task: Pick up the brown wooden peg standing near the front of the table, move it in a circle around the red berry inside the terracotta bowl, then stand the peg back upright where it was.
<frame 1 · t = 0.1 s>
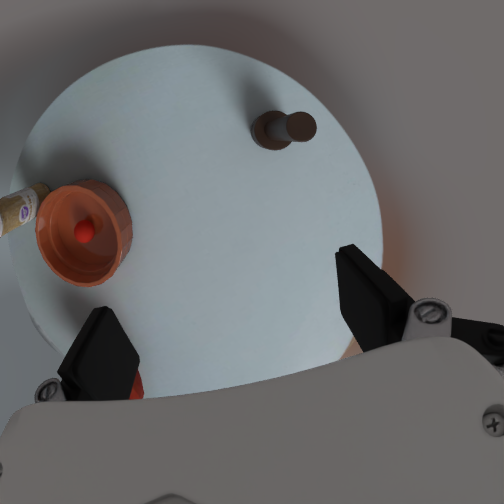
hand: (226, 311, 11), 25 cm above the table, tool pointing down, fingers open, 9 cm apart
berry: (84, 231, 32), point 2 cm above the table, touching bowl
sprinkles bottle: (42, 197, 31), on the table
bowl: (90, 226, 34), on the table
brown wooden peg: (269, 131, 31), on the table
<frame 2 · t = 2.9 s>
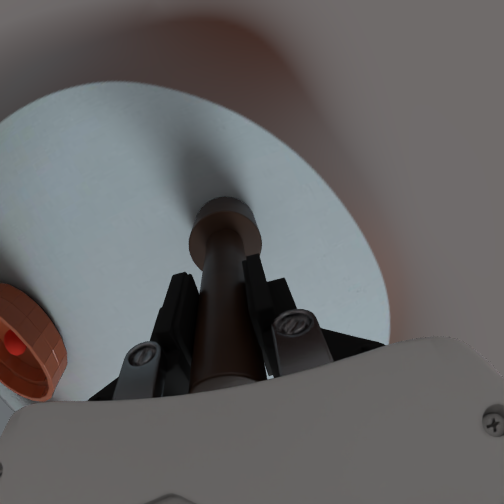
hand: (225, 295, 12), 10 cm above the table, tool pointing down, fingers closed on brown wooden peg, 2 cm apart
berry: (15, 342, 21), point 2 cm above the table, touching bowl
bowl: (23, 331, 23), on the table
brown wooden peg: (225, 226, 21), on the table, touching gripper
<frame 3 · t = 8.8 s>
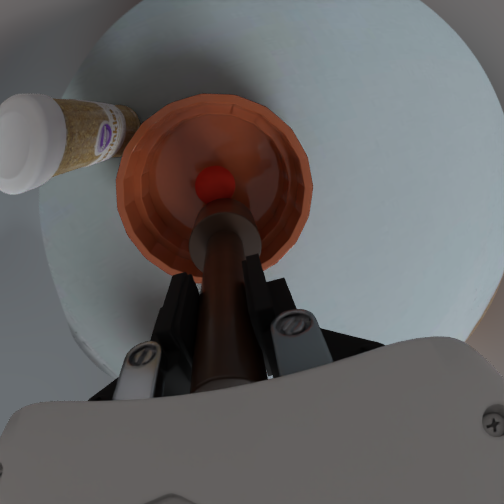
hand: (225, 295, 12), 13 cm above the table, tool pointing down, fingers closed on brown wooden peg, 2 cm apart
berry: (215, 185, 20), point 2 cm above the table, touching bowl, brown wooden peg
sprinkles bottle: (117, 130, 20), on the table
bowl: (215, 181, 22), on the table
brown wooden peg: (224, 227, 21), point 3 cm above the table, touching berry, gripper
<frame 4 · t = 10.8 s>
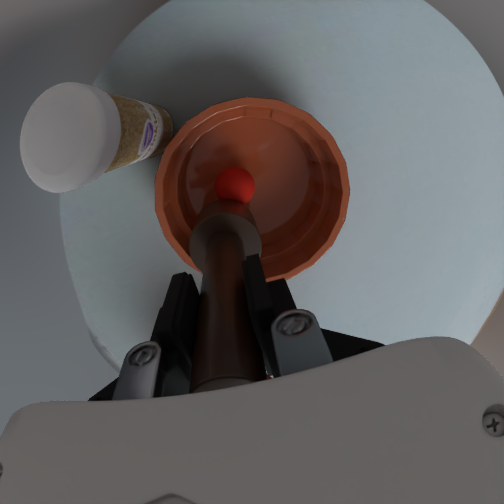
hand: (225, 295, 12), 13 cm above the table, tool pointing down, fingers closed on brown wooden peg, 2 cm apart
berry: (234, 186, 21), point 2 cm above the table, tilted 15°, touching bowl, brown wooden peg
sprinkles bottle: (148, 130, 20), on the table
bowl: (249, 184, 23), on the table
brown wooden peg: (225, 228, 21), point 3 cm above the table, touching berry, gripper
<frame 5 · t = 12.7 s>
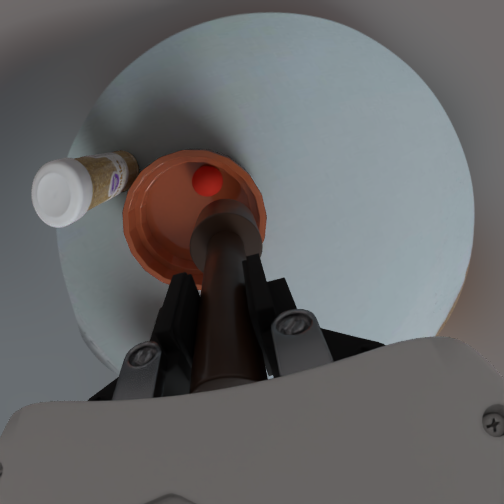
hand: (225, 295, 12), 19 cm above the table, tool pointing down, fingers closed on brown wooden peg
berry: (207, 181, 26), point 2 cm above the table, tilted 151°, touching bowl
sprinkles bottle: (121, 170, 27), on the table
bowl: (197, 211, 29), on the table
brown wooden peg: (225, 228, 21), point 9 cm above the table, touching gripper
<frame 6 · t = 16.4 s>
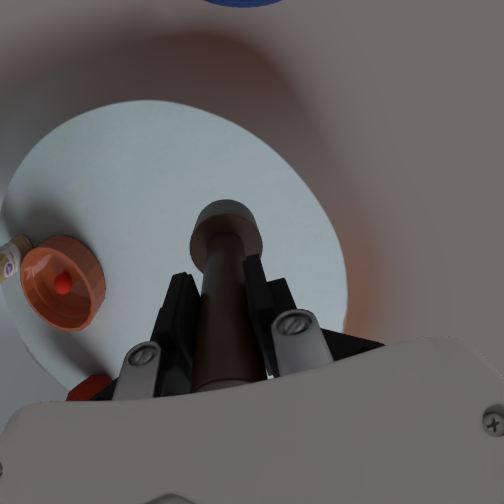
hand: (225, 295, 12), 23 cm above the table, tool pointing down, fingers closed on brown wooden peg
berry: (62, 283, 33), point 2 cm above the table, tilted 27°, touching bowl
sprinkles bottle: (24, 246, 33), on the table
bowl: (69, 275, 35), on the table
brown wooden peg: (225, 228, 21), point 14 cm above the table, touching gripper
apple: (106, 379, 44), on the table
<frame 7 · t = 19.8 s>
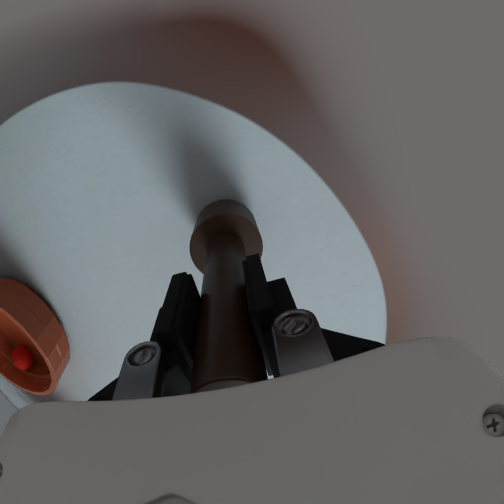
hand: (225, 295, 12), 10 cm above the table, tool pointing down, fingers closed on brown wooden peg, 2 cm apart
berry: (22, 358, 23), point 2 cm above the table, tilted 122°, touching bowl
bowl: (26, 325, 24), on the table
brown wooden peg: (225, 228, 21), point 1 cm above the table, touching gripper
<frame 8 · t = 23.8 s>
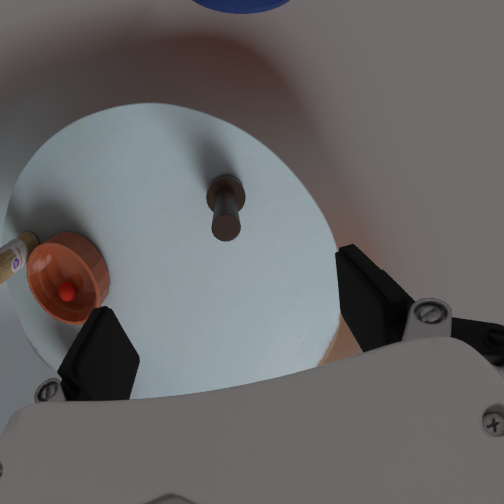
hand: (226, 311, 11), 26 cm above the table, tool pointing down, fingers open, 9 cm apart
berry: (67, 291, 36), point 2 cm above the table, tilted 83°, touching bowl
sprinkles bottle: (31, 242, 35), on the table
bowl: (74, 271, 37), on the table
brown wooden peg: (225, 191, 35), on the table
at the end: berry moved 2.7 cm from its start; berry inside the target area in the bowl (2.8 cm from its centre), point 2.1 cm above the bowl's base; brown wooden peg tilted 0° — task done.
